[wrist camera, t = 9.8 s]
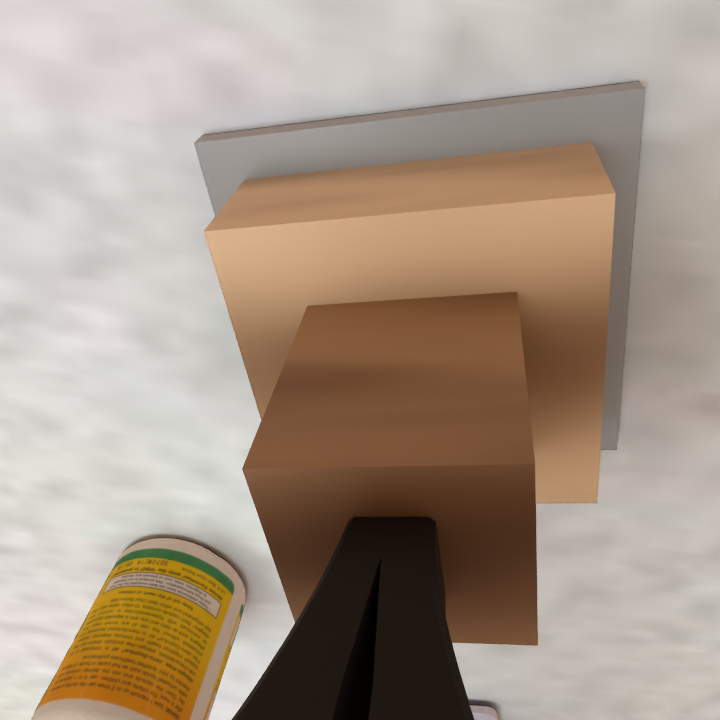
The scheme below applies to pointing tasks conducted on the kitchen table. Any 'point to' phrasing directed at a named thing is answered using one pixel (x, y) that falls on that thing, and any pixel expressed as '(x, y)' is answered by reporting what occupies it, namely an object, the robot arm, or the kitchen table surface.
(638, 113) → the baseplate
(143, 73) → the kitchen table surface
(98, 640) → the supplement bottle
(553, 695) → the kitchen table surface
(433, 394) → the walnut block
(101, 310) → the kitchen table surface
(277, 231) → the oak brick
